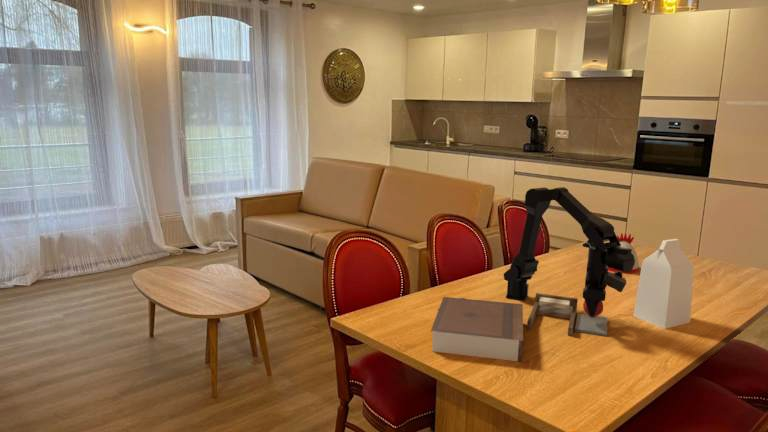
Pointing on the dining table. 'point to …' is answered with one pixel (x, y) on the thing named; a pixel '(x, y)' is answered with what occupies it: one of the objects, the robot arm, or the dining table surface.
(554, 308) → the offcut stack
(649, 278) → the milk
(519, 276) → the robot arm
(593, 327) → the slate board
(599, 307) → the onion
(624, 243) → the knit hat
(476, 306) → the book
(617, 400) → the dining table surface
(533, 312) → the rack
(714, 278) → the dining table surface
